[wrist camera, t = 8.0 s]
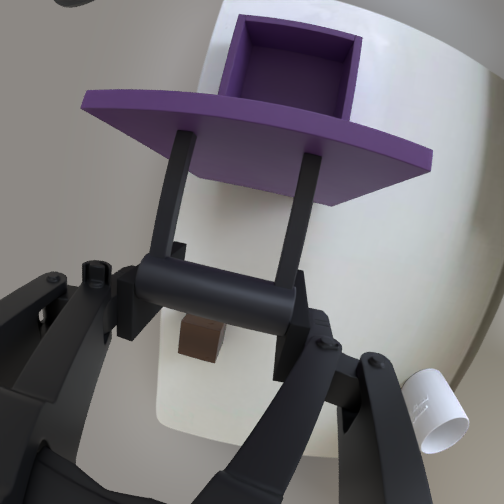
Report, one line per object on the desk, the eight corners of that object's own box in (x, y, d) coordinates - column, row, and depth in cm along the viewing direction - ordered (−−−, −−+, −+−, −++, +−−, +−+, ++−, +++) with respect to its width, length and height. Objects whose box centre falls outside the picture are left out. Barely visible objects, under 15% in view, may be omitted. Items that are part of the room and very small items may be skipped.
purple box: (248, 42, 30) (238, 13, 23) (349, 62, 30) (362, 37, 22) (219, 173, 35) (201, 173, 28) (322, 195, 35) (332, 202, 27)
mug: (382, 420, 42) (397, 471, 31) (409, 367, 39) (435, 419, 27) (421, 419, 42) (439, 466, 30) (449, 368, 38) (479, 414, 27)
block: (192, 304, 40) (181, 321, 35) (228, 313, 40) (220, 331, 35) (188, 334, 41) (177, 353, 37) (222, 343, 41) (214, 363, 36)
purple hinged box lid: (86, 90, 9) (46, 288, 10) (433, 149, 8) (378, 377, 9) (200, 169, 27) (183, 250, 28) (333, 198, 27) (314, 281, 27)
